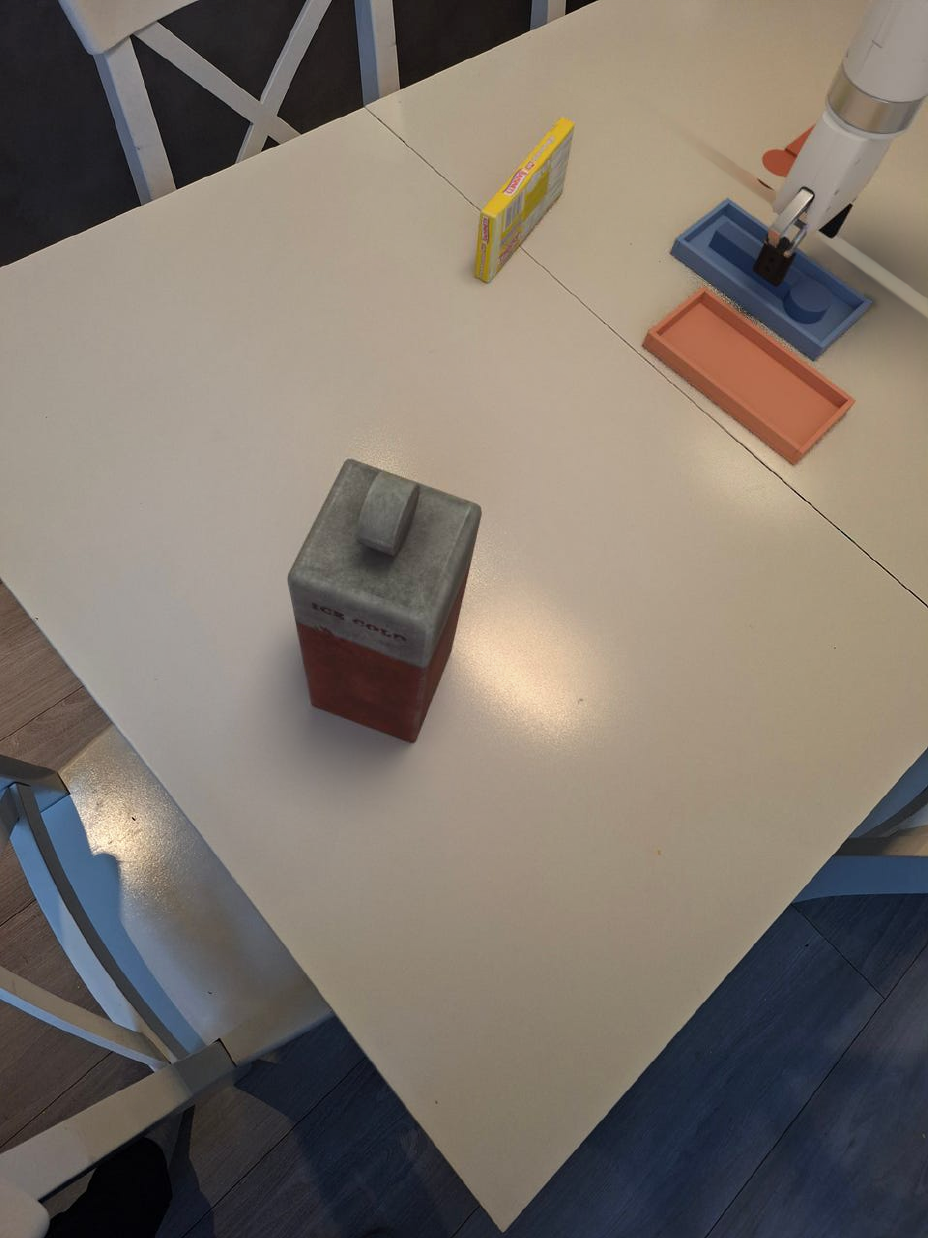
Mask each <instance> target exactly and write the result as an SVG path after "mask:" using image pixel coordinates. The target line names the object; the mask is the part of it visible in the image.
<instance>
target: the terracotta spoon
mask: <svg viewBox="0 0 928 1238" xmlns="http://www.w3.org/2000/svg"><path fill="white" fill-rule="evenodd" d="M815 125H816V123H815V124H813V125H812V126H811V127H810V128H808V129H806V131H805V132H803V133H802V134H801V135H799V136H798V137H797V138H795V140H793V141H792V142H790V143H789V144H788V145H787V146H786V147H784V149H776V148H773V149H769V150H767V151H765V152H764V153H763V155H762V157H761V163H762V165H763V166H764V168H765V169H766V170H767V171H768V172H770V173H771V174H772V175H775V176H778V177H781V178H786V177H787V175H788V173H789V171H790V169H791V167H792V165H793V163H794V161H795V160H796V158H797V156H798V154H799V152H800V150H801V149H802V147H803V145H804V143H805V141H806V140H807V138H808V136H809V135H810V133H811V131H812V130H813V128H814V126H815ZM756 179H757V181H758V182H759V183H760V184H761V185H762V186H764V187H765V188H767V189H769V190H773V191H775V189H773V188H772V187H771V186H770V185H768V184H767V183H766V182H765V181H763V180H761V179H760V178H758V177H756Z"/></svg>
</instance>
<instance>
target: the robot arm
mask: <svg viewBox="0 0 928 1238" xmlns="http://www.w3.org/2000/svg"><path fill="white" fill-rule="evenodd" d="M927 98H928V0H868V3H867V4H866V8H865V9H864V12H863V14H862V16H861V18H860V20H859V23H858V25H857V27H856V28H855V31H854V33H853V36H852V38H851V40H850V42H849V44H848V47H847V48H846V50H845V54H844V55H843V58H842V60H841V62H840V63H839V66H838V68H837V70H836V72H835V74H834V77H833V79H832V82H831V83H830V86H829V88H828V90H827V92H826V94H825V98H824V106H825V110H824V111H823V113H822V114H821V115H820V117H819V119H818V120H817V121H816V123H815V124H816V125H815V124H814V125H815V126H814V125H813V126H814V128H813V130H812V131H811V133H810V135H809V136H808V138H807V140H806V141H805V143H804V145H803V147H802V149H801V150H800V152H799V154H798V156H797V158H796V160H795V161H794V163H793V165H792V167H791V169H790V171H789V173H788V175H787V177H785V178H784V181H783V183H782V184H781V186H780V189H779V190H778V193H777V195H776V197H775V198H774V201H773V203H772V212H773V213H776V214H777V215H778V216H777V218H776V219H775V220H774V221H773V222H772V223H771V225H770V226H769V233H768V235H766V239H765V241H764V245H763V247H762V249H761V251H760V254H759V256H758V258H757V260H756V262H755V264H754V266H753V271H754V272H755V273H756V274H757V275H759V276H760V277H762V278H763V279H764V280H766V281H767V282H769V283H770V284H772V285H773V286H774V287H778V286H779V285H780V284H781V283H782V282H783V280H784V278H785V276H786V274H787V272H788V270H789V268H790V266H791V264H792V262H793V260H794V259H795V257H796V255H797V254H795V253H794V251H795V250H796V248H798V247H799V246H800V245H801V244H802V242H803V241H804V239H805V238H806V236H807V235H809V234H810V235H811V234H813V233H814V234H815V233H816V232H819V233H821V234H822V235H824V236H826V237H827V238H828V239H834V238H835V237H837V236H838V233H839V232H840V230H841V228H842V226H843V225H844V223H845V221H846V220H847V218H848V216H849V213H850V212H851V210H852V209H853V207H854V204H853V203H854V202H855V201H856V200H857V199H858V197H859V195H860V194H861V193H862V192H863V191H864V190H865V188H866V187H867V185H869V183H870V182H871V180H872V179H873V177H874V175H875V174H876V172H877V170H878V169H879V167H880V166H881V163H882V162H883V160H884V157H885V155H887V152H888V150H889V148H890V146H891V145H892V142H893V140H894V139H896V138H898V137H900V136H902V135H904V134H905V133H906V132H908V130H909V129H910V128H911V125H912V124H913V122H914V120H915V119H916V117H917V116H918V114H919V112H920V110H921V108H922V106H923V105H924V103H925V102H926V99H927ZM803 214H806V222H804V221H803V220H801V219H800V217H801V216H802V215H803ZM793 226H795V227H796V228H798V229H799V231H798V232H797V233H796V234H795V236H794V237H793V239H792V240H791V241H790V239H789V238H788V237H787V235H788V233H789V231H790V229H791V228H792V227H793Z"/></svg>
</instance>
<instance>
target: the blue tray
mask: <svg viewBox="0 0 928 1238" xmlns="http://www.w3.org/2000/svg"><path fill="white" fill-rule="evenodd" d="M726 221H727V222H729V223H730V224H732V225H733V226H734V227H736V228H737V229H738V230H740V231H741V232H743V233H744V234H745V235H747V236H748V237H749V238H751V239H752V240H754V241H755V242H756V243H758V244H759V245H760V246H762V247H763V245H764V241H765V239H766V235H768V233H769V228H770V226H767V225H766V224H764V222H762V220H761V221H760V220H759V219H758V218H757V217H755V216H754V215H752V214H751V213H750V212H748V211H747V210H746V209H745V208H743V207H741V206H740V205H739V204H737V203H736V202H734V201H733V200H731V199H730V198H729V197H727V198H725V199H724V200H723V201H722V202H720V203H719V204H717V205H716V206H715V207H714V208H713V209H712V210H710V211H709V212H707V213H706V214H705V215H703V216H702V217H701V218H700V219H698V220H697V221H696V222H695V223H693V224H691V226H690V227H688V228H687V229H685V230H684V231H683V232H681V234H679V235H678V236H676V237H675V239H674V242H673V244H672V246H671V249H670V251H669V253H670V254H671V255H672V256H673V257H674V258H675V259H677V260H678V261H680V262H681V263H683V265H685V266H686V267H688V268H689V269H690V270H692V271H693V272H694V273H696V275H699V276H700V277H701V278H702V279H704V280H705V281H706V282H708V283H709V284H710V285H712V286H713V287H715V288H716V289H717V290H719V292H721V293H722V294H724V295H725V296H726V297H727V298H729V299H730V300H732V301H733V302H734V303H736V304H737V305H738V306H740V307H741V308H743V309H744V310H745V311H746V312H747V313H749V314H750V315H752V316H753V317H754V318H755V319H757V320H758V321H760V322H761V323H762V324H764V326H767V327H768V328H769V329H770V330H771V331H773V332H774V333H776V334H777V335H778V336H779V337H781V338H782V339H784V340H785V341H787V343H789V344H790V345H792V346H793V347H794V348H795V349H797V350H798V351H799V352H801V353H802V354H803V355H805V356H806V357H807V358H809V359H810V360H812V361H813V362H816V360H817V359H818V358H819V357H821V356H822V355H823V354H824V353H825V352H826V351H827V350H828V349H829V348H830V347H831V346H832V345H833V344H834V343H835V342H836V341H838V339H840V338H841V337H842V336H843V335H844V334H845V333H846V332H847V331H848V330H849V329H850V328H852V326H853V325H854V324H855V323H856V322H858V321H859V320H860V318H862V317H863V316H864V314H865V313H866V312H867V310H868V309H869V307H871V304H873V301H872V300H870V299H869V298H867V297H866V296H865V295H864V294H863V293H861V292H859V291H858V290H856V288H854V287H852V286H851V285H849V284H848V283H846V282H845V281H844V280H843V279H841V278H840V277H839V276H837V275H836V274H834V273H833V272H831V271H830V270H829V269H827V268H826V267H824V266H823V265H822V264H820V263H819V262H818V261H816V260H814V258H812V257H811V256H809V255H808V254H807V253H805V252H803V250H801V249H799V248H798V247H797V248H796V250H795V251H794V253H795V254H797V255H796V257H795V259H794V260H793V262H792V264H791V266H790V267H791V268H792V269H793V270H795V271H796V272H798V273H799V274H800V275H802V278H801V279H811V280H815V281H817V282H819V283H821V284H823V285H824V286H825V287H826V288H827V289H828V290H829V292H830V294H831V297H832V302H831V305H830V307H829V308H828V310H827V311H826V313H825V314H824V316H823V317H822V319H821V320H820V321H818V322H816V323H813V324H804V323H800V322H797V321H795V320H794V319H792V318H791V317H790V316H789V315H788V314H787V313H786V312H785V310H784V307H783V301H782V300H781V299H779V298H778V297H777V296H775V295H774V294H773V293H771V292H770V291H769V290H767V289H766V288H764V287H763V286H762V285H760V284H759V283H758V282H756V281H755V280H754V279H752V278H751V277H750V276H748V275H747V274H746V273H744V272H743V271H742V270H740V269H739V268H737V267H736V266H735V265H733V264H732V263H731V262H729V261H728V260H727V259H725V258H724V257H723V256H721V255H720V254H719V253H717V252H716V251H714V250H713V249H712V248H710V247H709V244H710V242H711V240H712V237H713V235H714V233H715V231H716V229H718V228H719V227H720V226H721V225H723V224H724V223H725V222H726ZM801 279H800V280H801Z"/></svg>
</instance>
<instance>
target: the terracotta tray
mask: <svg viewBox="0 0 928 1238" xmlns="http://www.w3.org/2000/svg"><path fill="white" fill-rule="evenodd" d="M641 346H642V347H643V348H644V349H646V350H647V351H649V352H650V353H651V354H652V355H653V356H655V357H656V358H657V359H659V360H660V361H661V362H662V363H663V364H665V365H666V366H667V367H668V368H670V370H672V371H673V372H675V373H676V374H677V375H679V376H680V377H681V378H683V379H684V380H685V381H687V382H688V383H689V384H690V385H692V386H693V387H694V388H695V389H697V391H699V392H700V393H702V395H705V397H707V398H708V399H709V400H710V401H712V402H713V403H714V404H715V405H717V406H718V407H719V408H720V409H722V410H723V411H724V412H725V413H727V414H728V415H730V416H731V417H732V418H733V419H735V420H736V421H737V422H738V423H740V424H741V425H742V426H743V427H745V428H746V429H747V430H748V431H750V432H751V433H752V434H754V435H755V436H756V437H757V438H758V439H760V440H761V441H762V442H764V443H765V444H766V445H767V446H769V447H770V448H771V449H772V450H774V451H775V452H777V453H778V454H779V456H782V457H783V458H784V459H785V460H787V461H788V462H789V463H790V464H791V465H793V466H795V465H796V464H797V463H798V462H799V461H800V460H801V459H803V457H805V455H806V454H807V453H808V452H809V451H810V450H811V449H812V448H814V446H815V445H817V443H818V442H819V441H820V440H822V438H823V437H824V436H825V435H826V434H827V433H828V432H830V430H831V429H833V427H834V426H835V425H836V424H837V423H838V422H840V420H841V419H842V418H843V417H844V416H845V415H846V414H847V413H848V412H849V410H850V409H851V408H852V407H853V405H854V404H855V403H856V402H857V400H856V399H855V398H854V397H853V396H851V395H850V394H849V393H847V392H846V391H844V390H843V389H842V388H840V387H839V386H838V385H837V384H835V383H834V382H832V381H831V380H830V379H828V378H827V377H826V376H825V375H824V374H822V373H820V372H819V371H818V370H817V369H815V368H814V367H813V366H811V365H810V364H808V362H806V361H804V360H803V359H802V358H801V357H800V356H798V355H797V354H796V353H794V352H793V351H792V350H790V349H789V348H787V347H786V346H785V345H783V344H782V343H781V342H779V341H778V340H776V338H774V337H773V336H771V334H769V333H768V332H766V331H765V330H764V329H762V328H761V327H760V326H758V325H757V324H756V323H754V322H753V321H751V320H750V319H749V318H747V316H745V315H744V314H742V313H741V312H740V311H739V310H737V309H736V308H734V307H733V306H732V305H730V304H729V303H728V302H726V301H725V300H724V299H722V298H721V297H720V296H719V295H717V294H716V293H714V292H713V291H712V290H710V289H709V288H708V287H706V285H702V286H701V287H699V289H697V290H695V292H694V293H693V294H691V295H690V296H689V297H688V298H686V299H685V300H684V301H683V302H682V303H680V304H679V305H678V306H677V307H675V309H673V310H672V311H670V313H668V314H667V315H666V316H665V317H663V318H662V319H661V320H660V321H659V322H657V323H656V324H655V325H654V326H653V327H652V328H650V329H649V330H648V331H647V332H646V335H645V337H644V340H643V342H642V344H641Z"/></svg>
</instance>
